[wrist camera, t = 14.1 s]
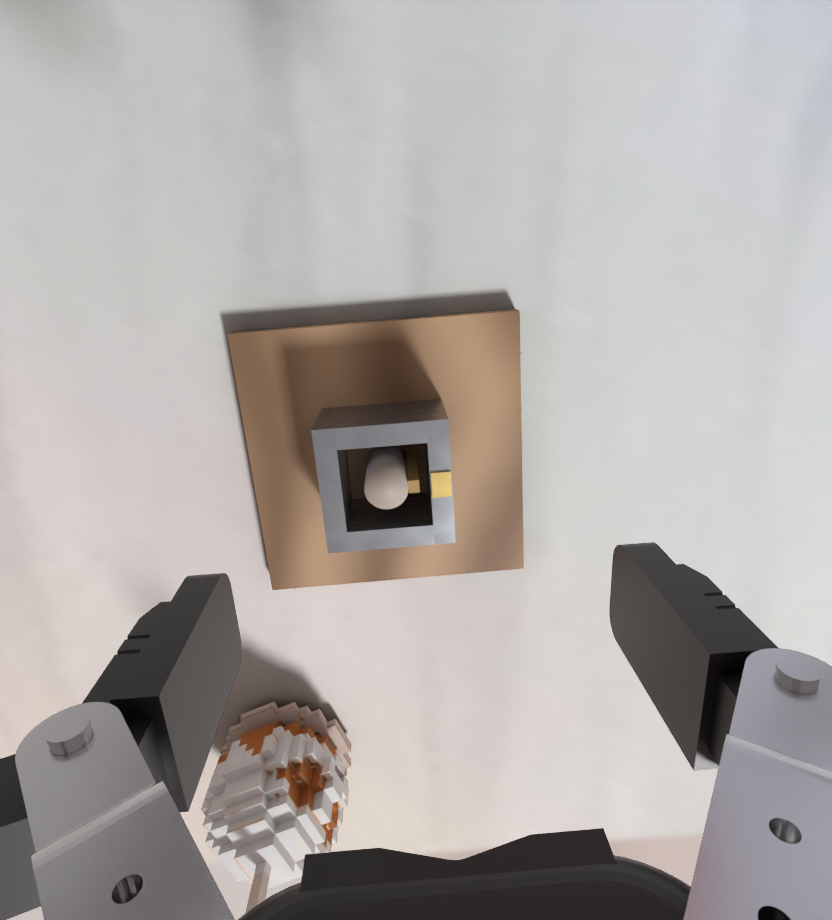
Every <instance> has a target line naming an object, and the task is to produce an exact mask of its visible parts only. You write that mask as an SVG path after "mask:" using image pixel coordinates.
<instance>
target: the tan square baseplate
mask: <svg viewBox="0 0 832 920" xmlns="http://www.w3.org/2000/svg"><path fill="white" fill-rule="evenodd" d="M227 336H228V341H229V347H230V353H231V358H232V364H233V369H234V375H235V381H236V386H237V392H238V398H239V403H240V409H241V415H242V420H243V426H244V431H245V437H246V443H247V448H248V454H249V460H250V465H251V471H252V477H253V482H254V488H255V493H256V499H257V505H258V510H259V516H260V522H261V527H262V533H263V539H264V544H265V550H266V556H267V561H268V567H269V572H270V578H271V584H272V589H273V590H278V589H289V588H301V587H313V586H324V585H336V584H347V583H359V582H371V581H382V580H394V579H405V578H417V577H429V576H440V575H452V574H463V573H475V572H487V571H498V570H510V569H521V568H524V563H523V501H522V438H521V376H520V313H519V310H516V309H510V310H497V311H485V312H472V313H460V314H447V315H435V316H422V317H410V318H397V319H385V320H372V321H360V322H347V323H335V324H322V325H310V326H298V327H285V328H273V329H260V330H248V331H235V332H231V333H229V334H227ZM432 399H442V402H443V405H444V407H445V410H446V413H447V416H448V418H449V432H450V450H451V468H452V485H453V503H454V521H455V539H456V543H446V544H434V545H422V546H411V547H399V548H387V549H375V550H363V551H351V552H339V553H328V550H327V542H326V535H325V528H324V520H323V513H322V506H321V498H320V491H319V484H318V477H317V469H316V462H315V455H314V447H313V440H312V433H311V430H312V428H313V426H314V423H315V421H316V419H317V417H318V415H319V413H320V411H321V409H322V408H333V407H345V406H358V405H370V404H382V403H395V402H407V401H420V400H432ZM347 457H348V465H349V474H350V482H351V491H352V499H358V498H367V499H368V501H369V502H370V503H371V504H372V505H374V506H375V507H377V508H380V509H393V508H396V507H398V506H399V505H401V504H402V503H403V502H404V501H405V499H406V497H407V495H408V494H419V493H428V485H427V471H426V457H425V443H420V444H408V445H396V446H384V447H371V448H359V449H347Z"/></svg>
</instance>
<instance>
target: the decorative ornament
mask: <svg viewBox="0 0 832 920" xmlns="http://www.w3.org/2000/svg"><path fill="white" fill-rule="evenodd" d="M228 735H229V736H227V737H226V740H225V743H224V744H225V745H224V746H223V748H222V751H221V754H222V756H220V758H219V760H218V763H217V766H216V769H215V771H214V774H213V777H212V780H211V782H210V785H209V788H208V791H207V794H206V797H205V800H204V803H203V806H202V808H201V810H202V811H203V813H204V814H205V815H206V818H205V821H204V824H203V828H204V829H205V830H206V831H207V833H208V835H207V838H206V841H205V842H206V843H207V845H208V846H209V847H210V849H211V850H212V851H213V852H214V854H215V855H216V856H217V858H218V859H219V860H220V861H221V863H222V864H223V865H224V867H225V868H227V869H228V870H229V872H230V873H231V874H232V875H234V877H235V878H236V879H237V881H238V882H241V881H244V880H248V881H249V882H250V884H251V885H252V887H251V892H250V896H249V900H248V905H247V909H246V913H247V912H248V911H250V910H251V909H252V908H253V907H255V906H256V905H258V904H259V903H261V902H263V901H264V900H265V897H266V892H267V889H269V888H272V887H274V886H277V885H280V884H283V883H285V882H288V881H291V880H294V879H297V878H299V877H302V873H303V866H304V858H305V854H316V853H328V852H331V845H332V844H335V843H337V834H338V826H339V825H341V824H342V819H343V807H346V806H347V803H348V780H347V779H346V777H345V776H346V773H347V768H348V767H350V765H351V759H350V757H349V756H348V754H347V752H350V751H351V743H350V741H349V740H348V738H347V736H346V735H345V733H344V731H343V730H342V728H341V726H340V725H339V723H338V722H337V720H336V719H333V720H331V721H328V722H327V720H326V718H325V717H324V715H323V713H322V712H321V710H320V709H317V710H315V711H312V712H311V710H310V709H309V707H308V706H307V705H306V706H304V707H301V708H299V707H298V706H297V704H296V703H295V702H293V703H290V704H288V705H285V706H283V707H280V708H278V707H277V705H276V703H275V702H271V703H269V704H266V705H264V706H261V707H259V708H256V709H254V710H251V711H248V712H246V713H243V714H242V715H241V718H240V723H239V724H236V725H234V726H231V727H230V729H229V732H228Z"/></svg>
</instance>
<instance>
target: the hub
mask: <svg viewBox="0 0 832 920" xmlns="http://www.w3.org/2000/svg"><path fill="white" fill-rule="evenodd" d="M311 433H312V440H313V447H314V455H315V462H316V469H317V477H318V484H319V491H320V498H321V506H322V513H323V520H324V528H325V535H326V542H327V550H328V553H339V552H351V551H363V550H375V549H387V548H399V547H411V546H422V545H434V544H446V543H456V539H455V521H454V503H453V485H452V468H451V450H450V432H449V418H448V416H447V413H446V410H445V407H444V405H443V402H442V399H432V400H420V401H407V402H395V403H382V404H370V405H358V406H345V407H333V408H322V409H321V411H320V413H319V415H318V417H317V419H316V421H315V423H314V426H313V428H312V430H311ZM420 443H425V457H426V471H427V485H428V493H419V494H408V495H407V497H406V499H405V501H404V502H403V503H402V504H401V505H399V506H398V507H396V508H393V509H380V508H377V507H375V506H374V505H372V504H371V503H370V502H369V501H368V499H367V498H358V499H352V491H351V482H350V474H349V465H348V457H347V449H359V448H371V447H384V446H396V445H408V444H420Z"/></svg>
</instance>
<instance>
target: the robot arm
mask: <svg viewBox="0 0 832 920" xmlns="http://www.w3.org/2000/svg"><path fill="white" fill-rule="evenodd" d="M610 622H611V627H612V631H613V634H614V637H615V639H616V641H617V643H618V645H619V646H620V648H621V650H622V651H623V653H624V655H625V656H626V658H627V660H628V661H629V663H630V665H631V666H632V668H633V670H634V671H635V673H636V675H637V676H638V678H639V680H640V681H641V683H642V685H643V686H644V688H645V690H646V691H647V693H648V695H649V696H650V698H651V700H652V701H653V703H654V705H655V706H656V708H657V710H658V711H659V713H660V715H661V716H662V718H663V720H664V721H665V723H666V725H667V727H668V728H669V730H670V732H671V733H672V735H673V737H674V738H675V740H676V742H677V743H678V745H679V747H680V748H681V750H682V752H683V753H684V755H685V757H686V758H687V760H688V762H689V763H690V765H691V767H692V768H693V770H694V771H695V770H707V769H718V773H717V777H716V781H715V786H714V790H713V794H712V798H711V803H710V807H709V811H708V816H707V820H706V824H705V829H704V833H703V837H702V842H701V846H700V850H699V855H698V859H697V863H696V868H695V872H694V877H693V881H692V885H691V887H690V886H689V885H687V884H686V883H684V882H682V881H681V880H679V879H677V878H675V877H673V876H672V875H670V874H668V873H666V872H664V871H662V870H660V869H657V868H654V867H652V866H650V865H647V864H645V863H642V862H638V861H635V860H632V859H628V858H625V857H620V856H615V855H613V853H612V851H611V848H610V845H609V842H608V840H607V837H606V834H605V832H604V829H603V828H602V829H590V830H579V831H568V832H556V833H545V834H533V835H529V836H526V837H523V838H520V839H518V840H515V841H512V842H509V843H507V844H504V845H501V846H498V847H496V848H493V849H490V850H487V851H485V852H482V853H479V854H477V855H474V856H471V857H468V858H466V859H462V860H446V859H441V858H435V857H429V856H423V855H417V854H411V853H405V852H400V851H394V850H388V849H382V848H373V849H362V850H350V851H339V852H328V853H316V854H305V858H304V866H303V873H302V881H301V883H298V884H296V885H293V886H290V887H288V888H286V889H284V890H282V891H280V892H278V893H276V894H274V895H272V896H271V897H269V898H267V899H266V900H264V901H263V902H261V903H259V904H258V905H256V906H255V907H253V908H252V909H251V910H250V911H248V912H247V913H246V914H244V915H243V916H242V917H241V918H239V919H238V920H832V666H830V665H828V664H827V663H825V662H823V661H821V660H819V659H817V658H815V657H812V656H810V655H807V654H804V653H801V652H797V651H793V650H788V649H780V648H778V647H777V646H776V645H775V644H774V643H773V642H772V641H771V640H770V639H769V638H768V637H767V636H766V635H765V634H764V633H763V632H762V631H761V630H760V629H759V628H758V627H757V626H756V625H755V624H754V623H753V622H752V621H751V620H750V619H749V618H748V617H747V616H746V615H745V614H744V613H743V612H742V611H741V610H740V609H739V608H735V604H734V603H733V602H732V601H731V600H730V599H729V598H728V597H727V596H726V595H723V594H722V591H721V590H720V589H719V588H718V587H717V586H716V585H715V584H714V583H713V582H712V581H711V580H710V579H709V578H708V577H707V576H705V575H703V574H701V573H699V572H697V571H696V570H694V569H692V568H690V567H688V566H686V565H684V564H679V565H676V564H675V563H674V562H673V561H672V560H671V559H670V558H669V557H668V555H667V554H666V553H665V552H664V551H663V550H662V549H661V548H660V547H659V546H658V545H657V544H656V543H640V544H626V545H618V546H616V548H615V550H614V554H613V564H612V580H611V595H610ZM240 660H241V638H240V632H239V626H238V621H237V616H236V610H235V605H234V600H233V594H232V589H231V584H230V580H229V578H228V576H227V574H225V573H221V574H207V575H194V576H187V577H186V578H185V579H184V581H183V583H182V584H181V586H180V588H179V589H178V591H177V592H176V594H175V596H174V597H173V599H172V600H171V602H160V603H159V604H158V605H156V606H155V607H154V608H153V609H151V610H150V611H149V612H147V613H146V614H145V615H143V616H142V617H141V618H140V619H139V620H138V622H137V623H136V625H135V626H134V627H133V629H132V630H131V632H130V633H129V635H128V639H127V640H125V641H124V642H123V644H122V645H121V647H120V648H119V650H118V654H117V655H115V656H114V657H113V659H112V660H111V661H110V663H109V664H108V666H107V667H106V669H105V670H104V672H103V673H102V675H101V676H100V678H99V679H98V681H97V682H96V684H95V685H94V687H93V688H92V690H91V691H90V693H89V694H88V695H87V697H86V698H85V700H84V701H83V703H82V704H79V705H76V706H72V707H69V708H67V709H64V710H62V711H60V712H58V713H56V714H54V715H52V716H50V717H49V718H47V719H46V720H44V721H43V722H41V723H40V724H39V725H37V726H36V727H35V728H34V729H33V730H31V731H30V732H29V733H28V735H27V736H26V737H25V738H24V739H23V741H22V742H21V743H20V745H19V747H18V749H17V751H16V754H14V755H11V756H9V757H5V758H2V759H0V920H6V919H9V918H11V917H14V916H17V915H19V914H22V913H24V912H27V911H29V910H32V909H34V908H37V907H39V906H41V907H42V911H43V916H44V920H234V917H233V915H232V913H231V911H230V909H229V908H228V906H227V904H226V902H225V900H224V898H223V896H222V894H221V892H220V890H219V888H218V886H217V884H216V882H215V881H214V878H213V877H212V875H211V873H210V871H209V869H208V867H207V865H206V863H205V861H204V859H203V857H202V855H201V853H200V851H199V849H198V847H197V845H196V843H195V842H194V840H193V838H192V836H191V834H190V832H189V830H188V828H187V826H186V824H185V822H184V820H183V818H182V816H181V814H180V812H188V811H189V808H190V805H191V802H192V799H193V797H194V794H195V791H196V788H197V785H198V783H199V780H200V777H201V774H202V771H203V768H204V766H205V763H206V760H207V757H208V754H209V752H210V749H211V746H212V743H213V740H214V737H215V735H216V732H217V729H218V726H219V723H220V721H221V718H222V715H223V712H224V709H225V706H226V704H227V701H228V698H229V695H230V692H231V689H232V687H233V684H234V681H235V678H236V675H237V673H238V670H239V666H240Z"/></svg>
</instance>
